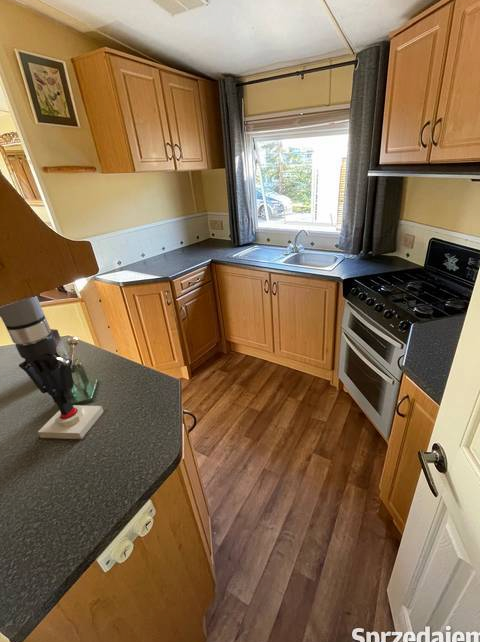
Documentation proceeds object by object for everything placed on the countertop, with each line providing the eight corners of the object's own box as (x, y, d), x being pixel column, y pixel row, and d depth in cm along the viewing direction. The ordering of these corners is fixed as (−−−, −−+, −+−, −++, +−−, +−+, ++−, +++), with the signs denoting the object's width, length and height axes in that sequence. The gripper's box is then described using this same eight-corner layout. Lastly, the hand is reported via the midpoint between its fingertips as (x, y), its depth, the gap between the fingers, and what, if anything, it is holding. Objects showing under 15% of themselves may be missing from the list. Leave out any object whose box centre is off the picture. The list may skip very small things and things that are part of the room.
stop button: (59, 420, 80) (57, 416, 79) (68, 411, 83) (66, 406, 83) (71, 421, 80) (69, 416, 79) (80, 411, 83) (78, 406, 82)
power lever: (69, 341, 97) (65, 335, 95) (80, 339, 98) (76, 333, 96) (66, 374, 89) (61, 369, 87) (77, 372, 90) (73, 367, 88)
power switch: (71, 388, 97) (58, 356, 92) (98, 382, 100) (86, 351, 94) (63, 408, 89) (47, 374, 83) (92, 401, 91) (79, 368, 86)
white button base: (40, 437, 79) (34, 427, 77) (66, 410, 88) (62, 400, 86) (81, 439, 78) (76, 428, 76) (103, 411, 87) (99, 401, 85)
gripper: (69, 330, 73) (97, 401, 83) (22, 330, 75) (56, 400, 85) (46, 346, 67) (80, 421, 77) (-5, 346, 68) (35, 420, 78)
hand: (67, 410), depth 81 cm, fingers closed
